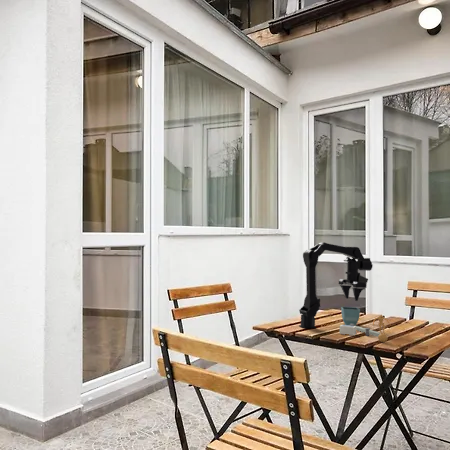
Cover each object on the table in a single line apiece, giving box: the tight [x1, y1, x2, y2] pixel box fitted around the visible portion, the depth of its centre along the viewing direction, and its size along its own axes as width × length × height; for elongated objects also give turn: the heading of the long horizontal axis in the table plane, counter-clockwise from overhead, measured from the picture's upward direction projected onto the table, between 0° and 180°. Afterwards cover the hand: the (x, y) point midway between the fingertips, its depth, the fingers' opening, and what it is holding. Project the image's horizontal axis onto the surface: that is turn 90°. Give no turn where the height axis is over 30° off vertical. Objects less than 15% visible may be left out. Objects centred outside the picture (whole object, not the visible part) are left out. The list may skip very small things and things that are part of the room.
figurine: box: [372, 314, 391, 343], centre depth 211 cm, size 8×6×12 cm
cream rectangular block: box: [339, 324, 357, 336], centre depth 226 cm, size 7×4×4 cm, turn 58°
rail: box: [350, 324, 380, 338], centre depth 230 cm, size 6×20×3 cm, turn 23°
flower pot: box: [340, 306, 361, 326], centre depth 251 cm, size 9×9×9 cm
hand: (351, 299), depth 249 cm, fingers open, 9 cm apart
